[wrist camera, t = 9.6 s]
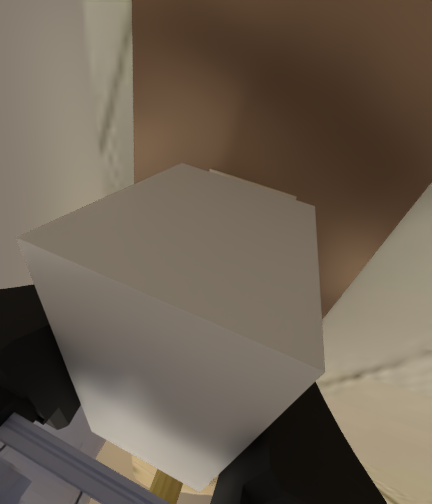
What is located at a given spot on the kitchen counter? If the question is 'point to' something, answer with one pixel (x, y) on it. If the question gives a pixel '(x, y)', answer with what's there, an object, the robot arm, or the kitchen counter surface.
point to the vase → (166, 487)
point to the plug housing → (183, 314)
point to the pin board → (293, 108)
